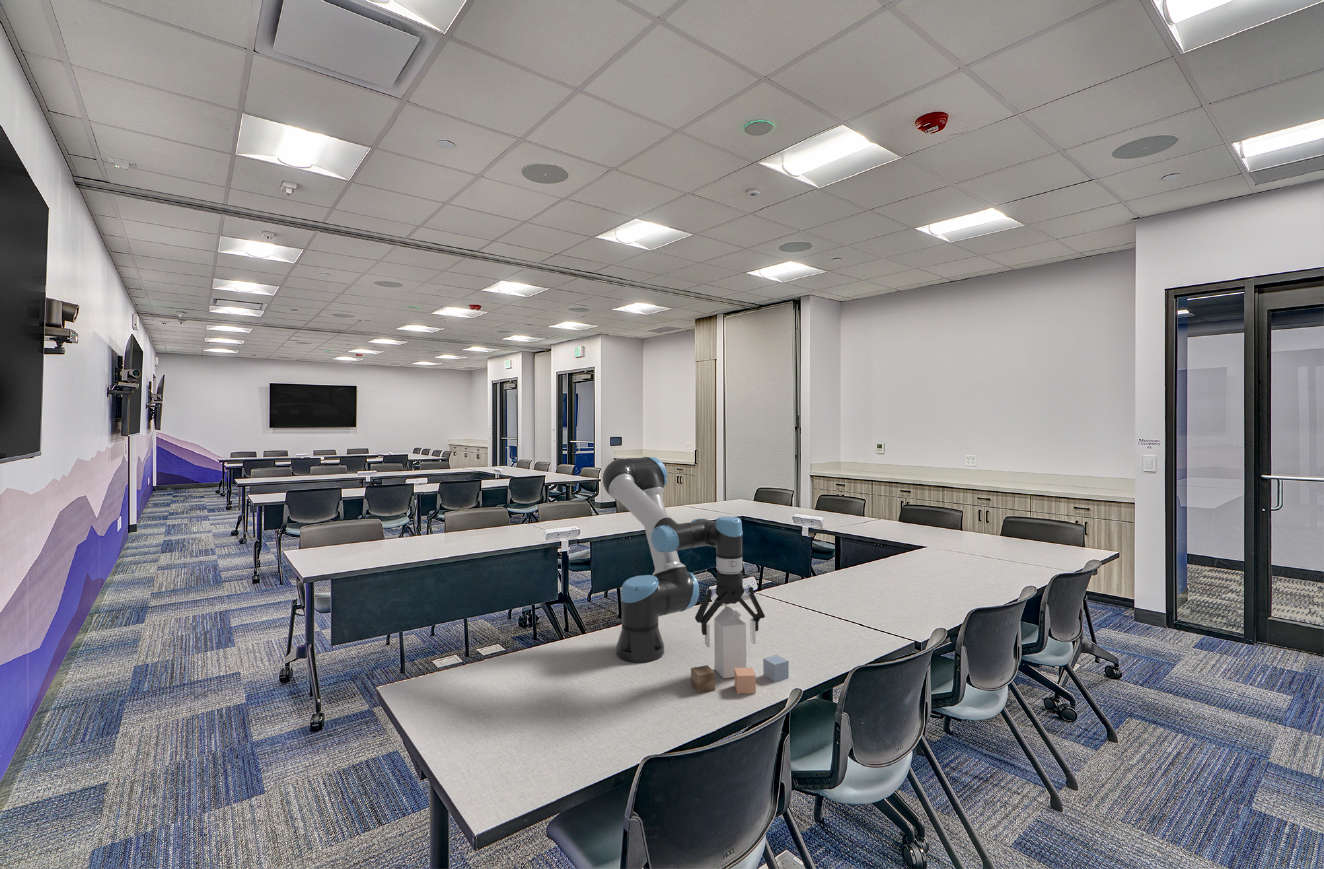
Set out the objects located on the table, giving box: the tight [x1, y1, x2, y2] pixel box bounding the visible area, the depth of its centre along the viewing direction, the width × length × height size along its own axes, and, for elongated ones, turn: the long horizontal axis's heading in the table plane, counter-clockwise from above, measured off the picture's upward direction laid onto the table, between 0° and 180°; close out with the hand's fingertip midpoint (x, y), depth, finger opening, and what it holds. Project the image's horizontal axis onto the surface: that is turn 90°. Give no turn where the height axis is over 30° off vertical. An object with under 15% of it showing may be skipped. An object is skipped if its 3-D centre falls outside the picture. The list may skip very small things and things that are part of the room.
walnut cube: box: [690, 664, 716, 694], centre depth 158 cm, size 5×5×5 cm
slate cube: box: [762, 654, 790, 683], centre depth 164 cm, size 5×5×5 cm
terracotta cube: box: [733, 667, 757, 695], centre depth 157 cm, size 5×5×5 cm
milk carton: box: [713, 603, 747, 679], centre depth 167 cm, size 7×7×19 cm
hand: (730, 644), depth 167 cm, fingers open, 13 cm apart
